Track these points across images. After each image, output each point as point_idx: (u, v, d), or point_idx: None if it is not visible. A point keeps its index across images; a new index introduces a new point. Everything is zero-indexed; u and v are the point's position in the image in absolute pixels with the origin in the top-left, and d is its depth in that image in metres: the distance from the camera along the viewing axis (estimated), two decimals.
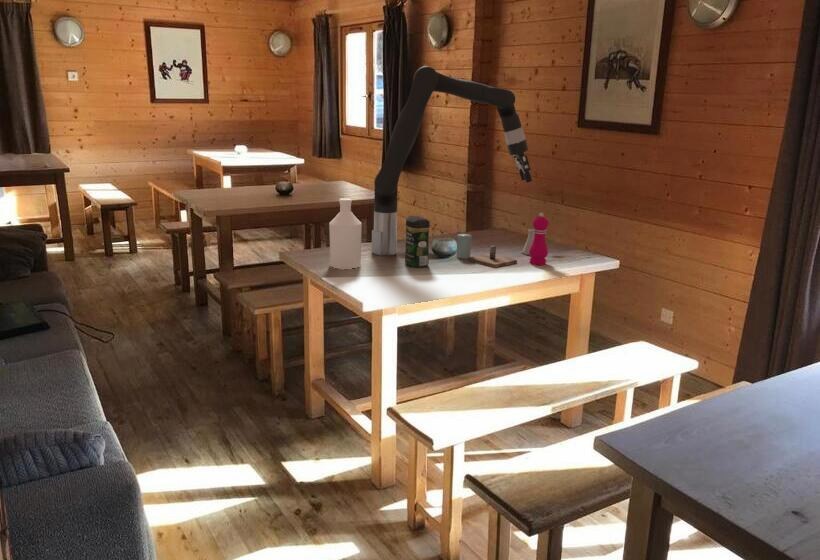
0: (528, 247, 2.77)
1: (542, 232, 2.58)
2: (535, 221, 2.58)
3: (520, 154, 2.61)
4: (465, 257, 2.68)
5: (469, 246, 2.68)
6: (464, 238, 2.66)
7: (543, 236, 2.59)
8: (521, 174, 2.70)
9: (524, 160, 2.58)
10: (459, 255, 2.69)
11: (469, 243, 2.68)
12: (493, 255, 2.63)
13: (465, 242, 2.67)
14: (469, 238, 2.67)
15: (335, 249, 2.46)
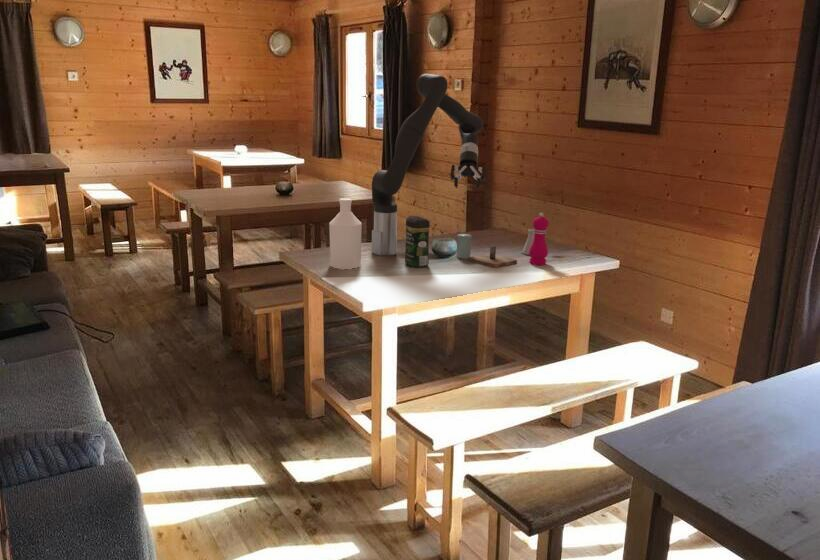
0: (528, 247, 2.77)
1: (542, 232, 2.58)
2: (535, 221, 2.58)
3: (477, 165, 2.79)
4: (465, 257, 2.68)
5: (469, 246, 2.68)
6: (464, 238, 2.66)
7: (543, 236, 2.59)
8: (457, 181, 2.76)
9: (484, 170, 2.78)
10: (459, 255, 2.69)
11: (469, 243, 2.68)
12: (493, 255, 2.63)
13: (465, 242, 2.67)
14: (469, 238, 2.67)
15: (335, 249, 2.46)
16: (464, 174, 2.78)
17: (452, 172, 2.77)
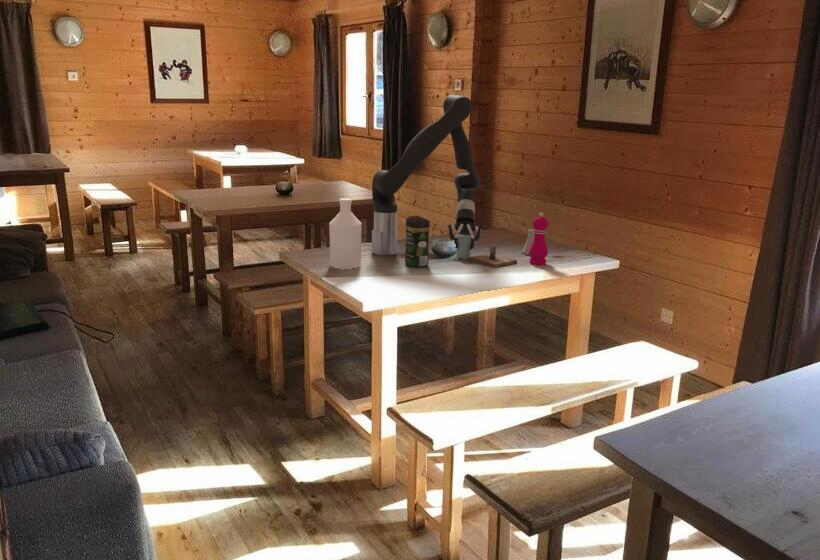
0: (528, 247, 2.77)
1: (542, 232, 2.58)
2: (535, 221, 2.58)
3: None
4: (465, 257, 2.68)
5: (469, 246, 2.68)
6: (464, 238, 2.66)
7: (543, 236, 2.59)
8: (457, 241, 2.69)
9: (481, 230, 2.72)
10: (459, 255, 2.69)
11: (469, 243, 2.68)
12: (493, 255, 2.63)
13: (465, 242, 2.67)
14: (469, 238, 2.67)
15: (335, 249, 2.46)
16: (463, 232, 2.71)
17: (451, 232, 2.70)
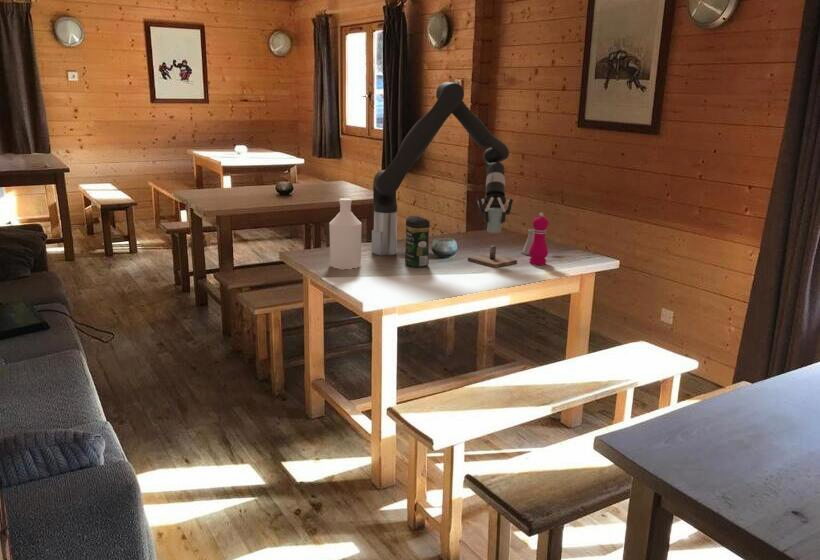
0: (528, 247, 2.77)
1: (542, 232, 2.58)
2: (535, 221, 2.58)
3: (504, 196, 2.64)
4: (496, 231, 2.59)
5: (500, 220, 2.59)
6: (495, 211, 2.57)
7: (543, 236, 2.59)
8: None
9: None
10: (490, 229, 2.59)
11: (500, 217, 2.58)
12: (493, 255, 2.63)
13: (496, 215, 2.57)
14: (500, 211, 2.58)
15: (335, 249, 2.46)
16: (493, 206, 2.62)
17: (481, 206, 2.61)
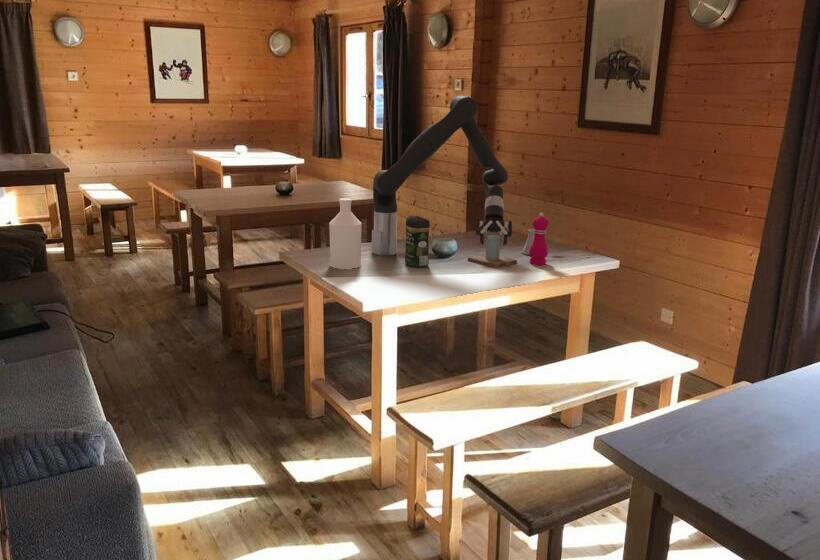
0: (528, 247, 2.77)
1: (542, 232, 2.58)
2: (535, 221, 2.58)
3: (503, 220, 2.66)
4: (494, 258, 2.62)
5: (498, 247, 2.61)
6: (493, 239, 2.60)
7: (543, 236, 2.59)
8: (483, 237, 2.62)
9: None
10: (488, 256, 2.62)
11: (498, 244, 2.61)
12: None
13: (494, 243, 2.60)
14: (498, 239, 2.60)
15: (335, 249, 2.46)
16: (490, 229, 2.64)
17: (477, 228, 2.64)
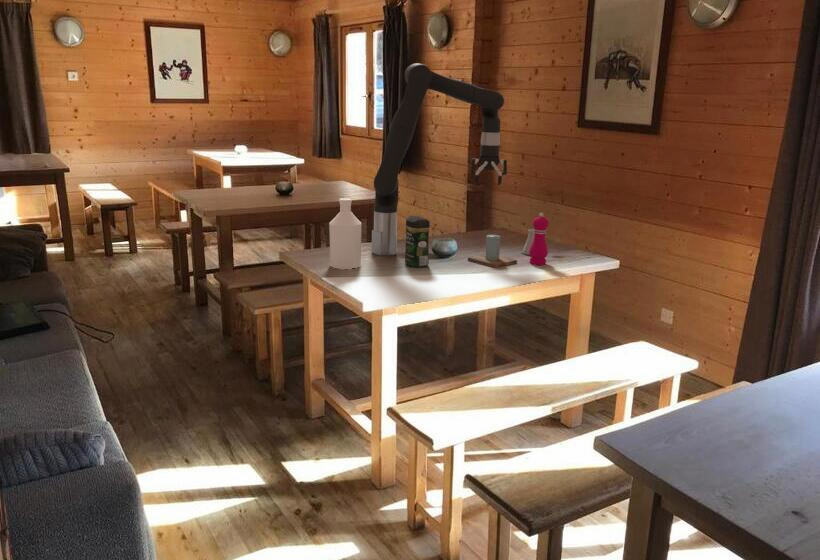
0: (528, 247, 2.77)
1: (542, 232, 2.58)
2: (535, 221, 2.58)
3: (498, 157, 2.69)
4: (494, 258, 2.62)
5: (498, 247, 2.61)
6: (493, 239, 2.60)
7: (543, 236, 2.59)
8: None
9: (506, 163, 2.69)
10: (488, 256, 2.62)
11: (498, 244, 2.61)
12: None
13: (494, 243, 2.60)
14: (498, 239, 2.60)
15: (335, 249, 2.46)
16: (485, 169, 2.71)
17: (473, 168, 2.70)
